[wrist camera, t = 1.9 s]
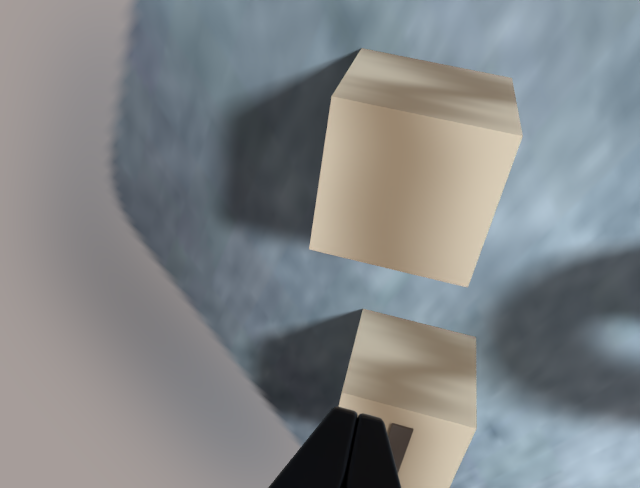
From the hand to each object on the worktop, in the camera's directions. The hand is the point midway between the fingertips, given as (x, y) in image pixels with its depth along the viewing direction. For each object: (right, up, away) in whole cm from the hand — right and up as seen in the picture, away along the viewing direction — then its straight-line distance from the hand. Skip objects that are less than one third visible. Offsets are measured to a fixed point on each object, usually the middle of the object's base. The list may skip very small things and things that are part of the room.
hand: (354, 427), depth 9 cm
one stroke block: (+3, -2, +17) cm, 17 cm away
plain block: (+3, +7, +11) cm, 13 cm away
